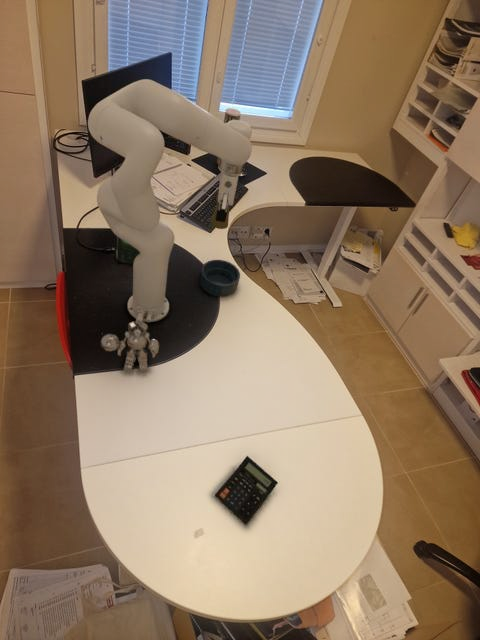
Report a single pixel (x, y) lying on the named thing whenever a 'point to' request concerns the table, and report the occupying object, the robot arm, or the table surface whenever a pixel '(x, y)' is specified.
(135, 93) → the robot arm
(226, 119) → the paper tube
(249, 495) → the calculator
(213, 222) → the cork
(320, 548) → the table surface
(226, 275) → the bowl
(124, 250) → the coffee jar
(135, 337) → the robot toy
